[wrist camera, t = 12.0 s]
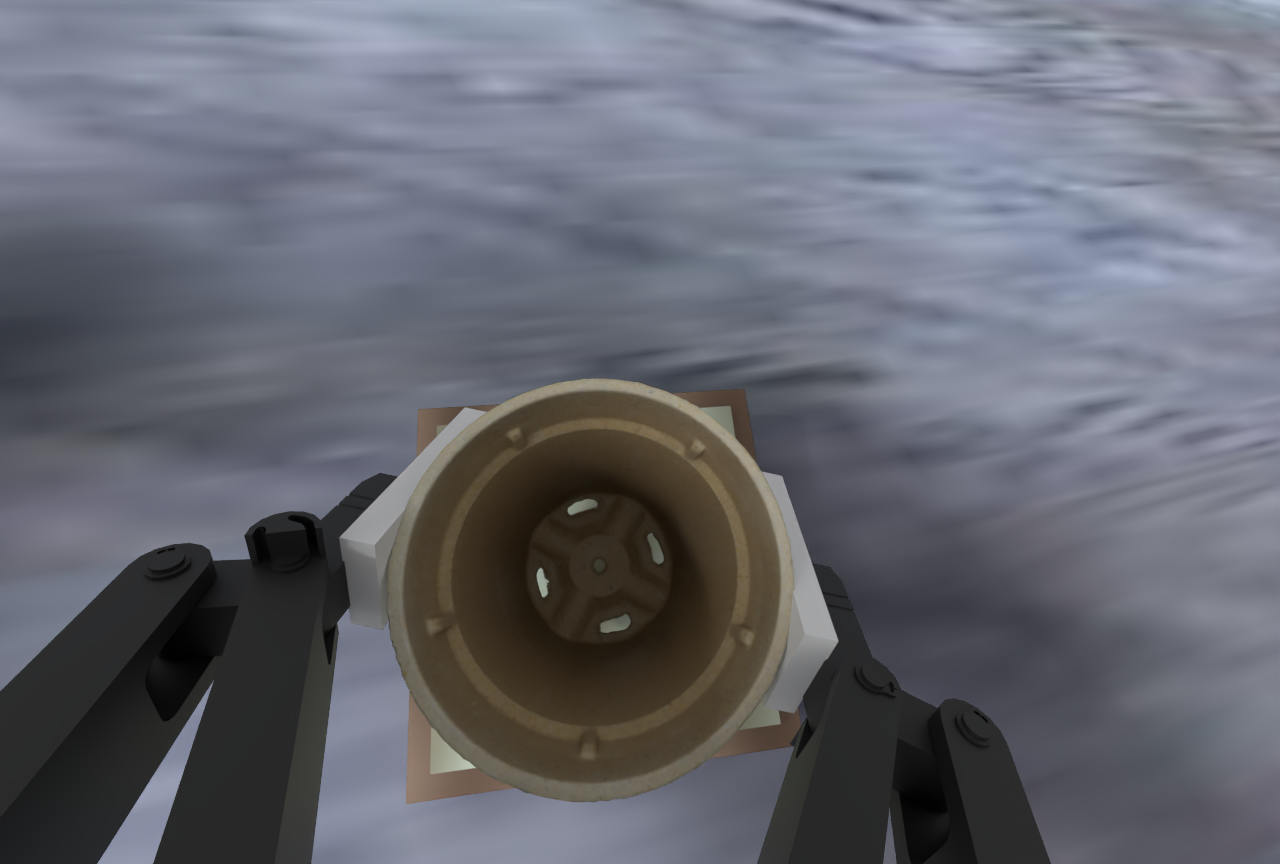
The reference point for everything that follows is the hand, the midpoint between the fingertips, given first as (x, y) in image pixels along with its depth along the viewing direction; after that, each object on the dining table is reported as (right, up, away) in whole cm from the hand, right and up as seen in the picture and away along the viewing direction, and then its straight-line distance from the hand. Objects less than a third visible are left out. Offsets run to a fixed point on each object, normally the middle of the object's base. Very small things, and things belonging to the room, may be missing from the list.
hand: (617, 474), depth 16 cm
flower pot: (-1, -4, +3) cm, 5 cm away
